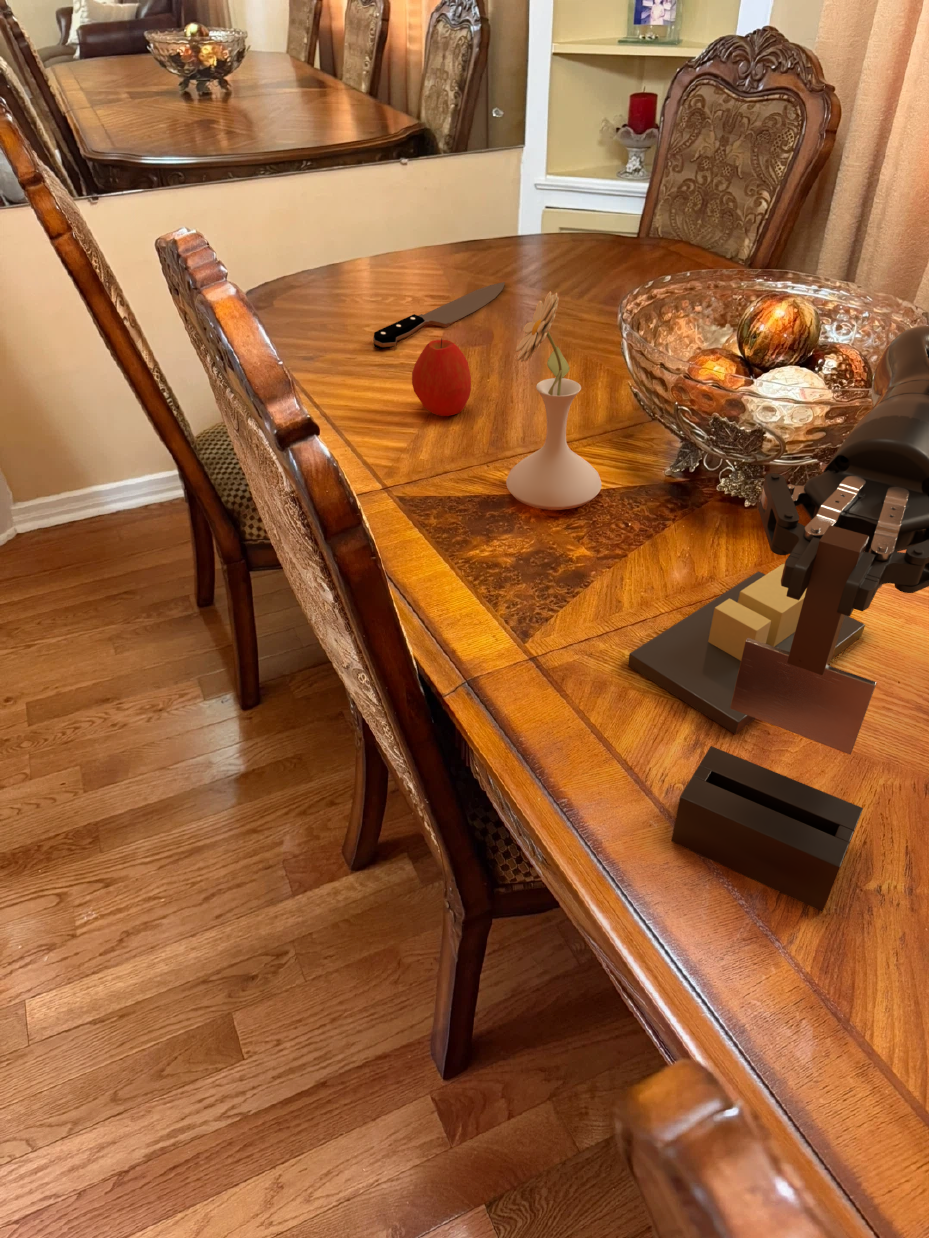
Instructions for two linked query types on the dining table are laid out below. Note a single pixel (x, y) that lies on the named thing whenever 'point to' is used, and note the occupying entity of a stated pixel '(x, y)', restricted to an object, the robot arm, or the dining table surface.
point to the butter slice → (736, 627)
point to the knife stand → (765, 826)
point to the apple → (442, 378)
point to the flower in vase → (552, 431)
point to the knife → (810, 659)
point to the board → (709, 661)
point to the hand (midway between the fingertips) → (821, 593)
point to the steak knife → (436, 316)
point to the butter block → (773, 605)
